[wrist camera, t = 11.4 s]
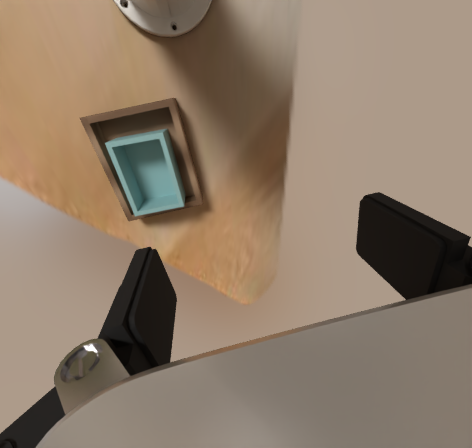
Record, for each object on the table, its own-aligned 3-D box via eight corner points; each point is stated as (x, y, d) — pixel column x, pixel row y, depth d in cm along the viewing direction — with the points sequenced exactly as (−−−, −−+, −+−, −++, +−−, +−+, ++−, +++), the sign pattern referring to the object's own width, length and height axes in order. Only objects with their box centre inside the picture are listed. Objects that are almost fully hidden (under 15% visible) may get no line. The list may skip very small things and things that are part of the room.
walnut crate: (91, 116, 31) (79, 118, 28) (175, 98, 32) (173, 98, 29) (134, 211, 38) (128, 221, 35) (202, 195, 39) (203, 203, 36)
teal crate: (117, 137, 32) (104, 143, 28) (167, 128, 32) (162, 132, 28) (142, 202, 37) (135, 216, 32) (185, 194, 37) (184, 206, 33)
